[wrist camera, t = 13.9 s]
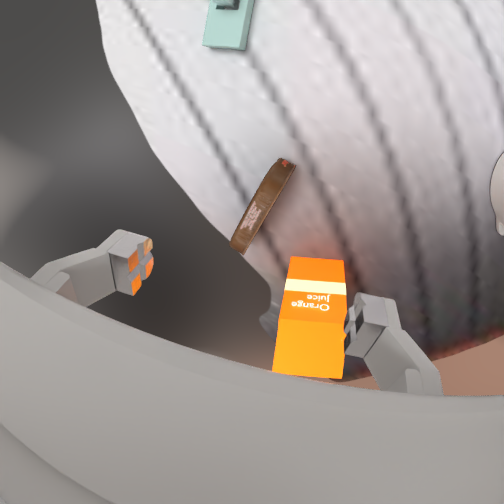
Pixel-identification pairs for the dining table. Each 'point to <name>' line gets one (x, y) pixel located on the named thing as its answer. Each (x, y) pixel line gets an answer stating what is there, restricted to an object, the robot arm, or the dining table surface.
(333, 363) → the orange juice
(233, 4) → the white block
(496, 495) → the robot arm
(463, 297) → the dining table surface
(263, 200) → the tin
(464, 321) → the dining table surface
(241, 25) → the rail
